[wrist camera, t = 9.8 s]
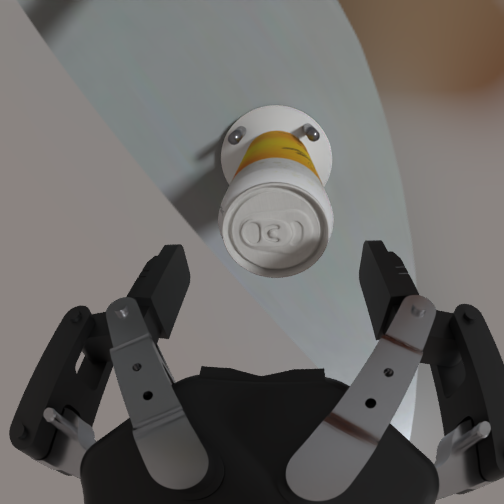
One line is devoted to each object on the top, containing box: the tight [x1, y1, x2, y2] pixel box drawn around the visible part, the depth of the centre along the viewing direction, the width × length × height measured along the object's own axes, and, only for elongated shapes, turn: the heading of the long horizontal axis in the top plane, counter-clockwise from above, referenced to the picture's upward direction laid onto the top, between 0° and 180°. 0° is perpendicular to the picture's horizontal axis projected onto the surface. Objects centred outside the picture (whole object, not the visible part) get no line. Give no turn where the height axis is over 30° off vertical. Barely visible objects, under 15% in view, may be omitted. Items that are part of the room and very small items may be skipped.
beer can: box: [218, 131, 334, 278], centre depth 20 cm, size 6×6×15 cm
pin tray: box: [221, 105, 332, 187], centre depth 25 cm, size 11×11×6 cm
